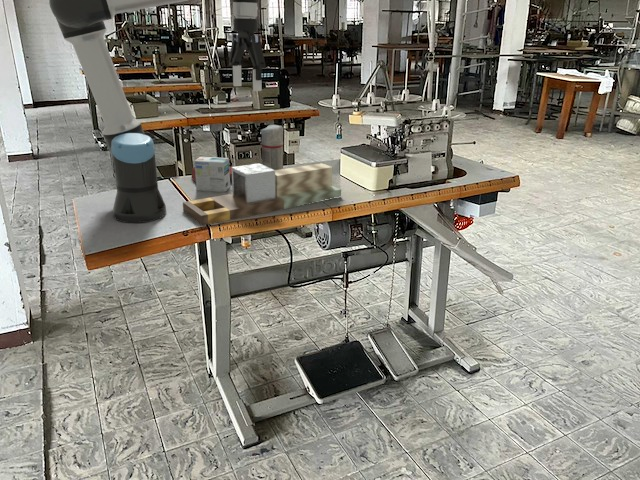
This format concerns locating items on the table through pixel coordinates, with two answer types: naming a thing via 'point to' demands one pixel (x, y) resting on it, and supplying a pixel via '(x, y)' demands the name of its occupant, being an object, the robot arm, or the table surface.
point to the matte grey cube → (253, 183)
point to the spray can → (272, 147)
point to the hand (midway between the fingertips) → (247, 88)
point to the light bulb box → (212, 174)
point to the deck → (250, 205)
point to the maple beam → (302, 179)
